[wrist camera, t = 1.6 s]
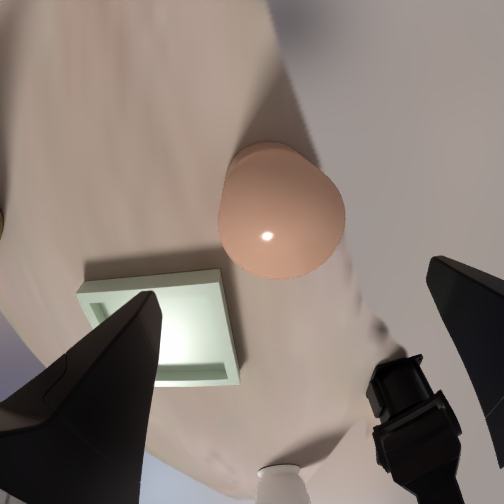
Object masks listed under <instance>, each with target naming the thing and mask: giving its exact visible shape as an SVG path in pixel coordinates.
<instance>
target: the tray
mask: <svg viewBox="0 0 504 504" xmlns="http://www.w3.org/2000/svg"><path fill="white" fill-rule="evenodd" d="M149 290H153V291H154V292H155V294H156V296H157V299H158V302H159V305H160V308H161V311H162V316H163V319H162V330H161V341H160V354H159V362H158V368H157V373H156V378H155V384H154V386H157V387H194V386H221V385H237V384H240V368H239V363H238V359H237V354H236V349H235V344H234V339H233V334H232V329H231V324H230V319H229V314H228V309H227V303H226V298H225V293H224V287H223V282H222V277H221V271H220V269H212V270H202V271H192V272H182V273H172V274H161V275H151V276H140V277H129V278H118V279H106V280H95V281H84V282H83V284H82V285H81V286H80V288H79V289H78V291H77V292H76V296H77V298H78V300H79V302H80V304H81V307H82V309H83V311H84V313H85V315H86V317H87V319H88V321H89V322H90V324H91V326H92V328H93V329H94V328H96V327H97V326H98V325H99V324H101V323H102V322H103V321H104V320H105V319H107V318H108V317H109V316H110V315H112V314H113V313H114V312H115V311H117V310H118V309H119V308H120V307H122V306H123V305H124V304H125V303H127V302H128V301H129V300H130V299H132V298H133V297H134V296H136V295H137V294H138V293H139V292H141V291H149Z"/></svg>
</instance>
